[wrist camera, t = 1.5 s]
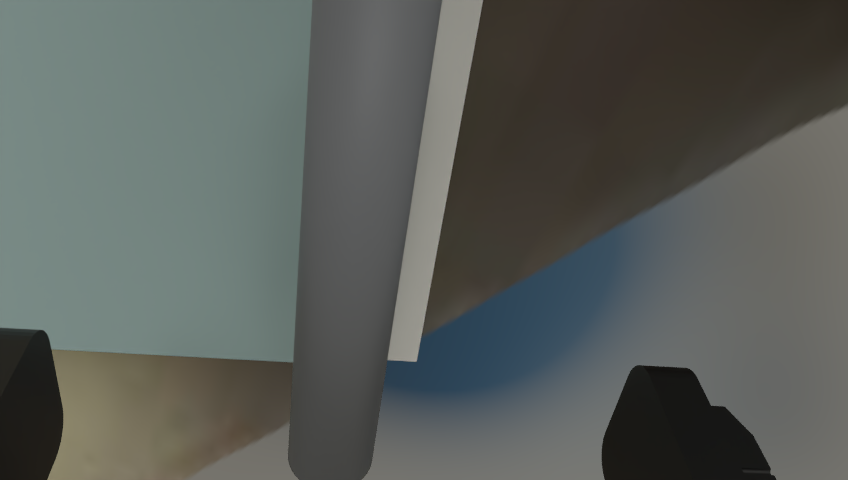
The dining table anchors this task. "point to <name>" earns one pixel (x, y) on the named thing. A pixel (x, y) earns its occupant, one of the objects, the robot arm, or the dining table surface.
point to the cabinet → (433, 170)
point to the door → (218, 189)
